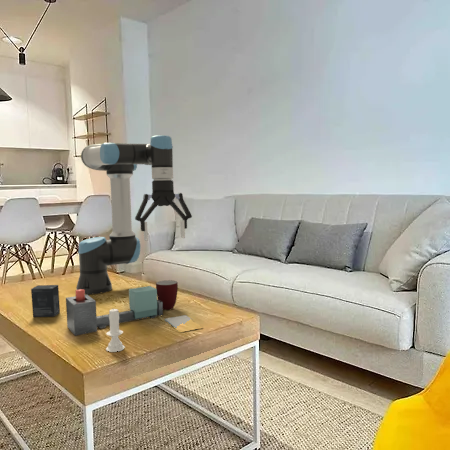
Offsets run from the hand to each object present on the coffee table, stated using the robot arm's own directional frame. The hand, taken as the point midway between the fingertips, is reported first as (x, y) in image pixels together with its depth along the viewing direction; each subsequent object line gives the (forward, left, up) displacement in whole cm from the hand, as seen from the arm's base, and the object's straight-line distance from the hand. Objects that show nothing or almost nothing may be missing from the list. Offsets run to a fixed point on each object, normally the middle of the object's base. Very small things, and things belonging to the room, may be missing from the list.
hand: (164, 239), depth 158 cm
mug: (-4, +1, -27) cm, 28 cm away
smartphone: (+16, -1, -28) cm, 32 cm away
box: (-23, -37, -27) cm, 52 cm away
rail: (+1, -16, -27) cm, 31 cm away
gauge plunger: (+1, -31, -18) cm, 35 cm away
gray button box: (+1, -31, -27) cm, 41 cm away
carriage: (+1, -9, -27) cm, 29 cm away
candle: (+24, -27, -27) cm, 45 cm away
